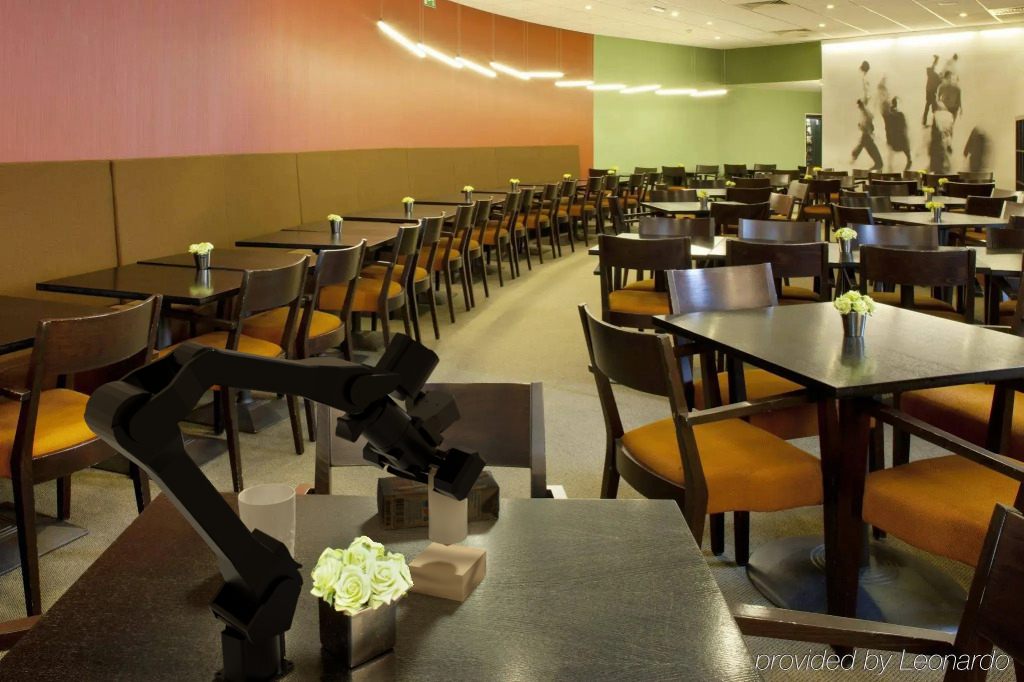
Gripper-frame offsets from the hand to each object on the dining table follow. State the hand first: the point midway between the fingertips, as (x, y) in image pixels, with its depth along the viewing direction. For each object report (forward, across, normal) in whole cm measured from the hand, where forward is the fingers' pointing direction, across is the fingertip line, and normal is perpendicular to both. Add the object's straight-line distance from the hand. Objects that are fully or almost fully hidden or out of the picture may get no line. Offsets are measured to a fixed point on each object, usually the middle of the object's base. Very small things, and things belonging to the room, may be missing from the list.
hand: (455, 489), depth 121 cm
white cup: (-1, +24, +20) cm, 31 cm away
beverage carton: (+19, +18, 0) cm, 26 cm away
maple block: (+9, 0, +10) cm, 14 cm away
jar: (+4, 0, +6) cm, 7 cm away
